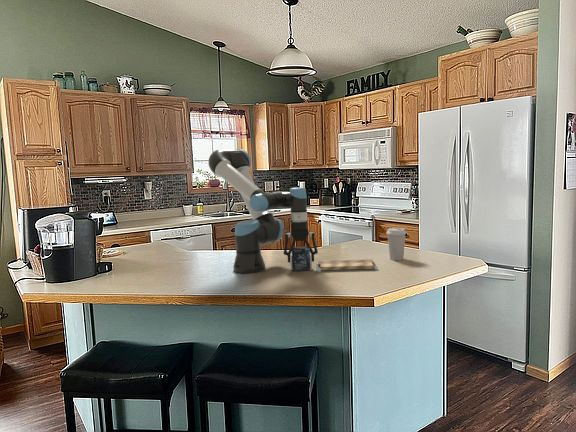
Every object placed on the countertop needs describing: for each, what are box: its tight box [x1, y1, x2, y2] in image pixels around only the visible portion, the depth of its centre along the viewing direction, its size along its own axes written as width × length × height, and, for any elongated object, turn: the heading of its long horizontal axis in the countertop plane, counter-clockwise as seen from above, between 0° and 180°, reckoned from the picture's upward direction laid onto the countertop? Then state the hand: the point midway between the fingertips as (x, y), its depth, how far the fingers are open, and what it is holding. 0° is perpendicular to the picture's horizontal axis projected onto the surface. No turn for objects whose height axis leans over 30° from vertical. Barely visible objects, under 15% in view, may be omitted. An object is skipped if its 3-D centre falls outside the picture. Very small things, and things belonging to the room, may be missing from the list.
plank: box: [320, 262, 374, 270], centre depth 203 cm, size 24×8×2 cm, turn 86°
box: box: [291, 245, 311, 272], centre depth 205 cm, size 8×6×11 cm
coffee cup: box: [385, 227, 407, 261], centre depth 218 cm, size 10×10×15 cm
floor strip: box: [317, 258, 375, 267], centre depth 210 cm, size 26×6×2 cm, turn 86°
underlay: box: [315, 262, 379, 273], centre depth 206 cm, size 28×15×1 cm, turn 86°
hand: (301, 268), depth 206 cm, fingers closed on box, 8 cm apart
